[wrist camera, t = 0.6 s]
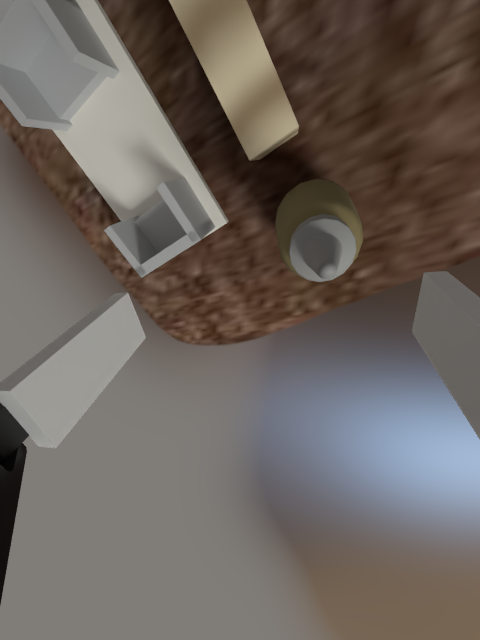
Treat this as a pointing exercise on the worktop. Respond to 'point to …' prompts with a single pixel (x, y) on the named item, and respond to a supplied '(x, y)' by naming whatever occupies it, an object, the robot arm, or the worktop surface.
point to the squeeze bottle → (318, 230)
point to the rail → (239, 72)
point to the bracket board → (105, 124)
